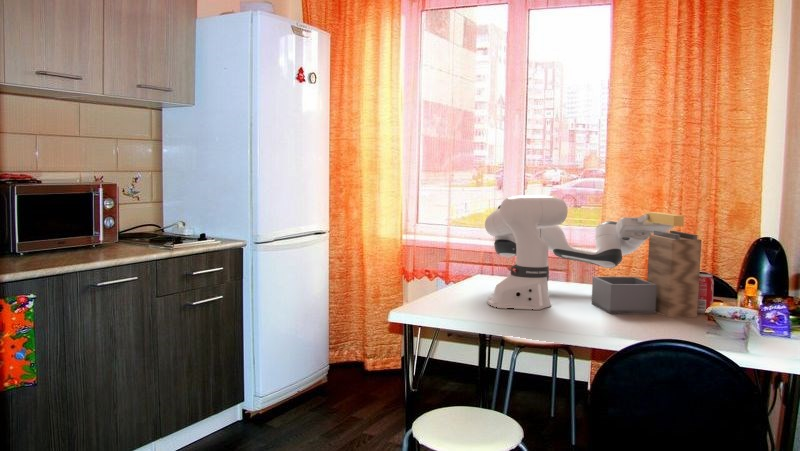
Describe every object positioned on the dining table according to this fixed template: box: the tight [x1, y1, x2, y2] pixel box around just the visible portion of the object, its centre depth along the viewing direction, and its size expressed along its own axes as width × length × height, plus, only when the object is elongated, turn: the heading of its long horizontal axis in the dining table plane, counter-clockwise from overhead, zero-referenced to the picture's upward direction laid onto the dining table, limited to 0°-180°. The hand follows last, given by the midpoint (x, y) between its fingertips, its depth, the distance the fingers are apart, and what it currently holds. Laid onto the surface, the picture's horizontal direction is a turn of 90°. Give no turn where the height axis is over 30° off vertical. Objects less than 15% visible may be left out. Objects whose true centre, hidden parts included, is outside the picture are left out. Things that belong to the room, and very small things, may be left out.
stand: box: [646, 230, 702, 318], centre depth 219 cm, size 10×16×28 cm, turn 5°
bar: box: [645, 211, 685, 227], centre depth 227 cm, size 4×20×4 cm, turn 5°
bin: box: [591, 276, 657, 315], centre depth 224 cm, size 16×16×10 cm
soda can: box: [697, 273, 715, 315], centre depth 221 cm, size 7×7×13 cm
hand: (654, 216), depth 234 cm, fingers closed on bar, 3 cm apart
